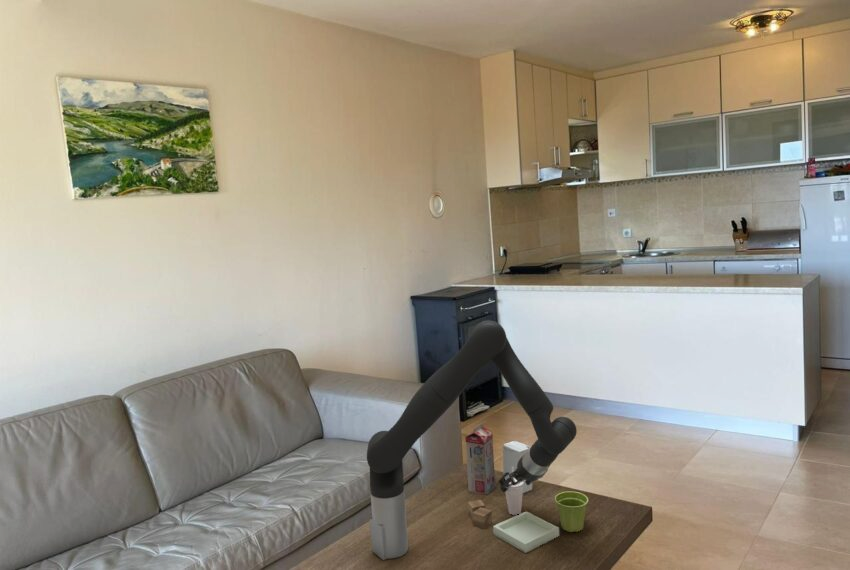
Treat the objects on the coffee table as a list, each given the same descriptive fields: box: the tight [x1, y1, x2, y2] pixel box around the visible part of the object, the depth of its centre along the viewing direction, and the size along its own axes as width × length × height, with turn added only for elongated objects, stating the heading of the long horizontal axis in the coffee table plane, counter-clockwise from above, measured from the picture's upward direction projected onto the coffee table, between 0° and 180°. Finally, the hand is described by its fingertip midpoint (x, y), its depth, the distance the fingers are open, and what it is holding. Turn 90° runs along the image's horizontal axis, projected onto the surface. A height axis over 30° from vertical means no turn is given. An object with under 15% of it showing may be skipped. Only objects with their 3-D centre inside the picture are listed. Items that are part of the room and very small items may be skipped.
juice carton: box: [465, 421, 496, 495], centre depth 208 cm, size 7×7×22 cm
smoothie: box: [504, 467, 524, 516], centre depth 191 cm, size 6×6×14 cm
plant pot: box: [554, 490, 589, 533], centre depth 181 cm, size 9×9×9 cm
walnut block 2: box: [472, 507, 493, 530], centre depth 186 cm, size 4×4×4 cm
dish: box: [492, 511, 560, 554], centre depth 178 cm, size 13×13×2 cm
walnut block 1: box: [467, 499, 486, 520], centre depth 191 cm, size 4×4×4 cm
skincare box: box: [502, 440, 533, 494], centre depth 207 cm, size 8×6×15 cm
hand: (514, 485), depth 190 cm, fingers open, 8 cm apart
